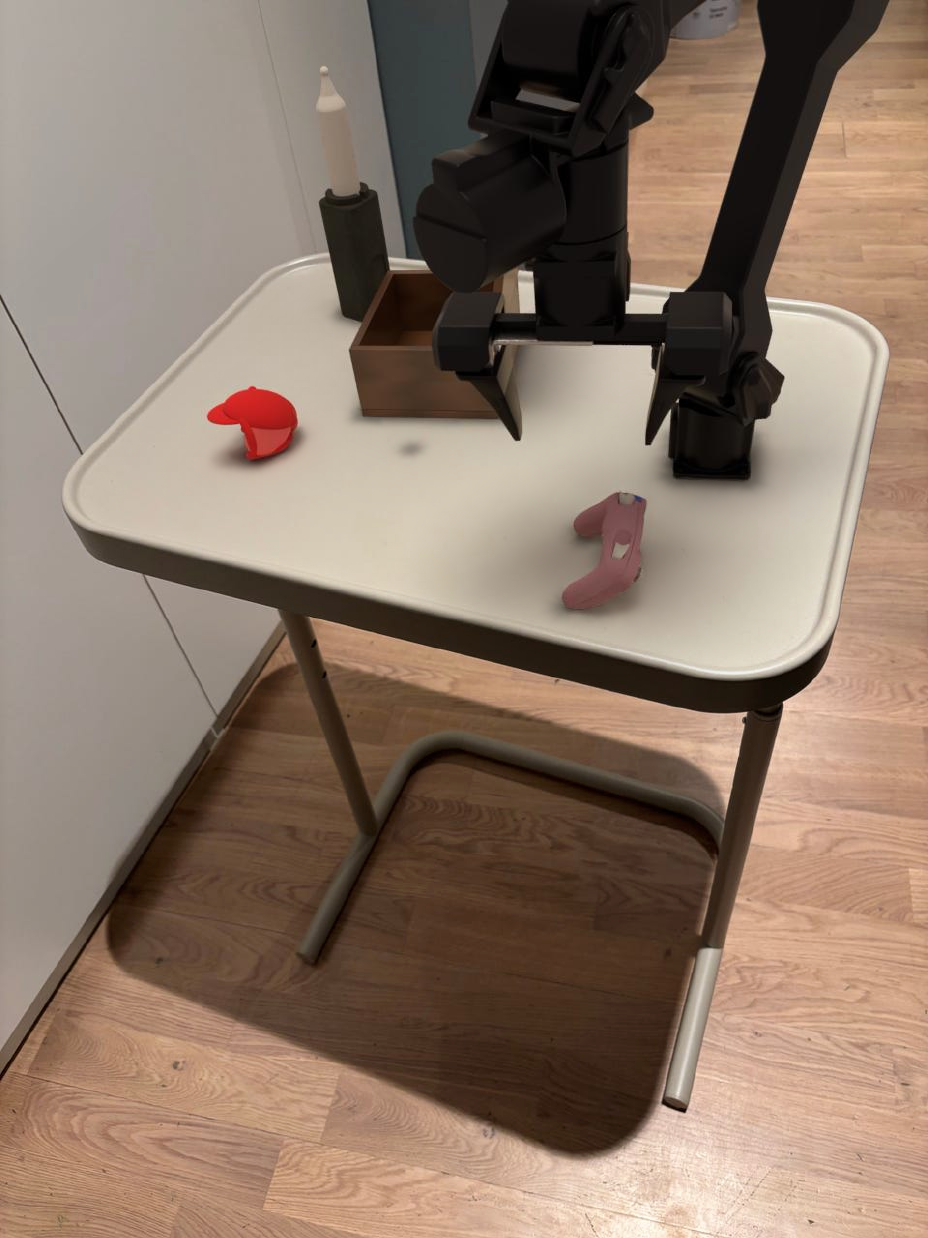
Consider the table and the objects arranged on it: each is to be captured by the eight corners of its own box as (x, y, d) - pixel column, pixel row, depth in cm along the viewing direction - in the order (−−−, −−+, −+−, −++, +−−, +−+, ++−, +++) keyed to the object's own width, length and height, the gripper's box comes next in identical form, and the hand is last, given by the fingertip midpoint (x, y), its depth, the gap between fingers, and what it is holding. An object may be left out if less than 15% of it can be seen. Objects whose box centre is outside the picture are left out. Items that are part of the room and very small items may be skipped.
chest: (362, 416, 92) (348, 349, 87) (398, 333, 103) (387, 269, 97) (498, 418, 90) (492, 350, 84) (521, 333, 100) (517, 267, 95)
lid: (503, 184, 73) (513, 186, 73) (530, 112, 84) (539, 113, 84) (487, 345, 84) (496, 346, 84) (513, 263, 94) (520, 264, 94)
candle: (366, 295, 110) (321, 55, 92) (400, 304, 107) (360, 59, 89) (337, 315, 107) (285, 72, 89) (371, 324, 105) (325, 77, 87)
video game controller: (610, 630, 71) (655, 573, 66) (555, 608, 71) (597, 548, 66) (619, 543, 78) (661, 485, 73) (569, 522, 77) (608, 462, 72)
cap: (282, 416, 94) (267, 362, 89) (313, 440, 90) (299, 386, 86) (211, 450, 91) (192, 397, 87) (241, 477, 87) (222, 423, 83)
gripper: (742, 162, 59) (719, 379, 70) (453, 171, 63) (475, 374, 74) (742, 244, 52) (716, 471, 63) (414, 248, 55) (446, 461, 67)
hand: (582, 439), depth 67 cm, fingers open, 9 cm apart
